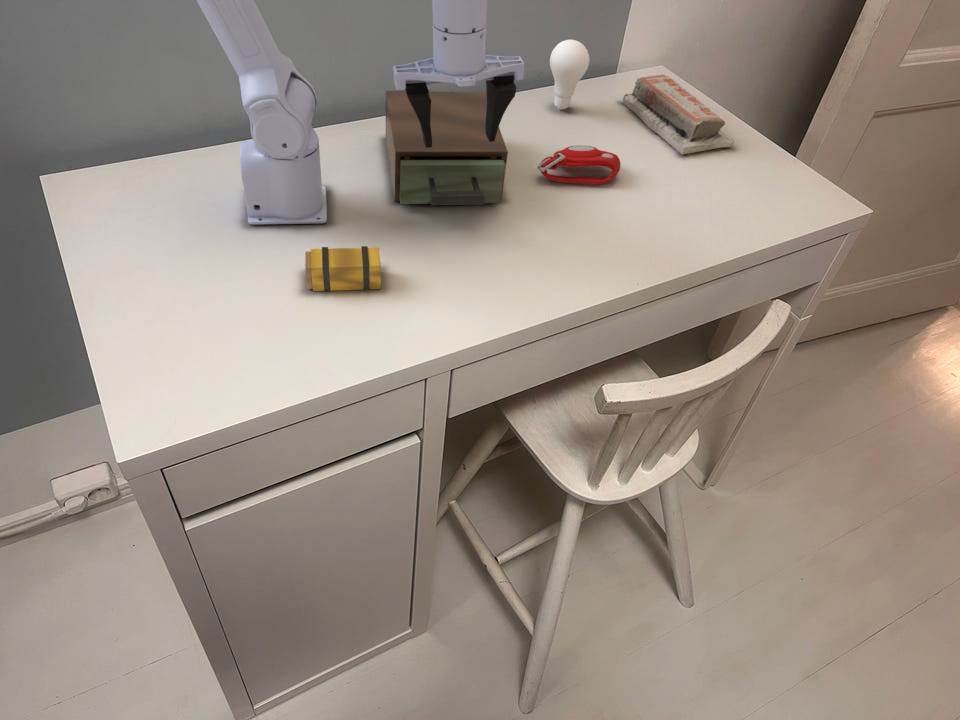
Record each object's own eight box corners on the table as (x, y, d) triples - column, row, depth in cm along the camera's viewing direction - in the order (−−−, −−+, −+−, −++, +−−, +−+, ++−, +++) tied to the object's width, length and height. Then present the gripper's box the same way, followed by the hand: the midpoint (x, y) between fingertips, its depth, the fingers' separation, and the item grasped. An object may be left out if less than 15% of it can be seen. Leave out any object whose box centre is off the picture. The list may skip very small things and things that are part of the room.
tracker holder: (563, 139, 109) (628, 144, 105) (562, 168, 111) (626, 175, 107) (531, 154, 100) (600, 160, 95) (530, 186, 102) (598, 194, 98)
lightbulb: (539, 99, 120) (550, 32, 112) (575, 101, 121) (588, 34, 113) (545, 117, 116) (557, 48, 108) (582, 118, 117) (596, 50, 109)
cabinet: (501, 200, 98) (508, 151, 93) (394, 202, 95) (395, 151, 90) (481, 139, 109) (486, 92, 104) (385, 138, 107) (385, 90, 101)
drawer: (507, 225, 93) (512, 186, 89) (403, 226, 90) (404, 187, 86) (481, 143, 107) (485, 106, 103) (391, 143, 104) (391, 105, 100)
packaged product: (626, 74, 119) (675, 69, 122) (619, 102, 122) (667, 96, 126) (690, 127, 108) (743, 120, 111) (681, 157, 111) (732, 148, 115)
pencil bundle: (378, 270, 85) (378, 245, 83) (380, 289, 83) (380, 265, 80) (307, 272, 84) (305, 247, 81) (307, 292, 82) (304, 267, 79)
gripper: (397, 43, 73) (404, 163, 83) (535, 34, 76) (526, 151, 85) (387, 16, 78) (395, 133, 88) (517, 8, 80) (511, 122, 90)
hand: (459, 140), depth 87 cm, fingers open, 7 cm apart
